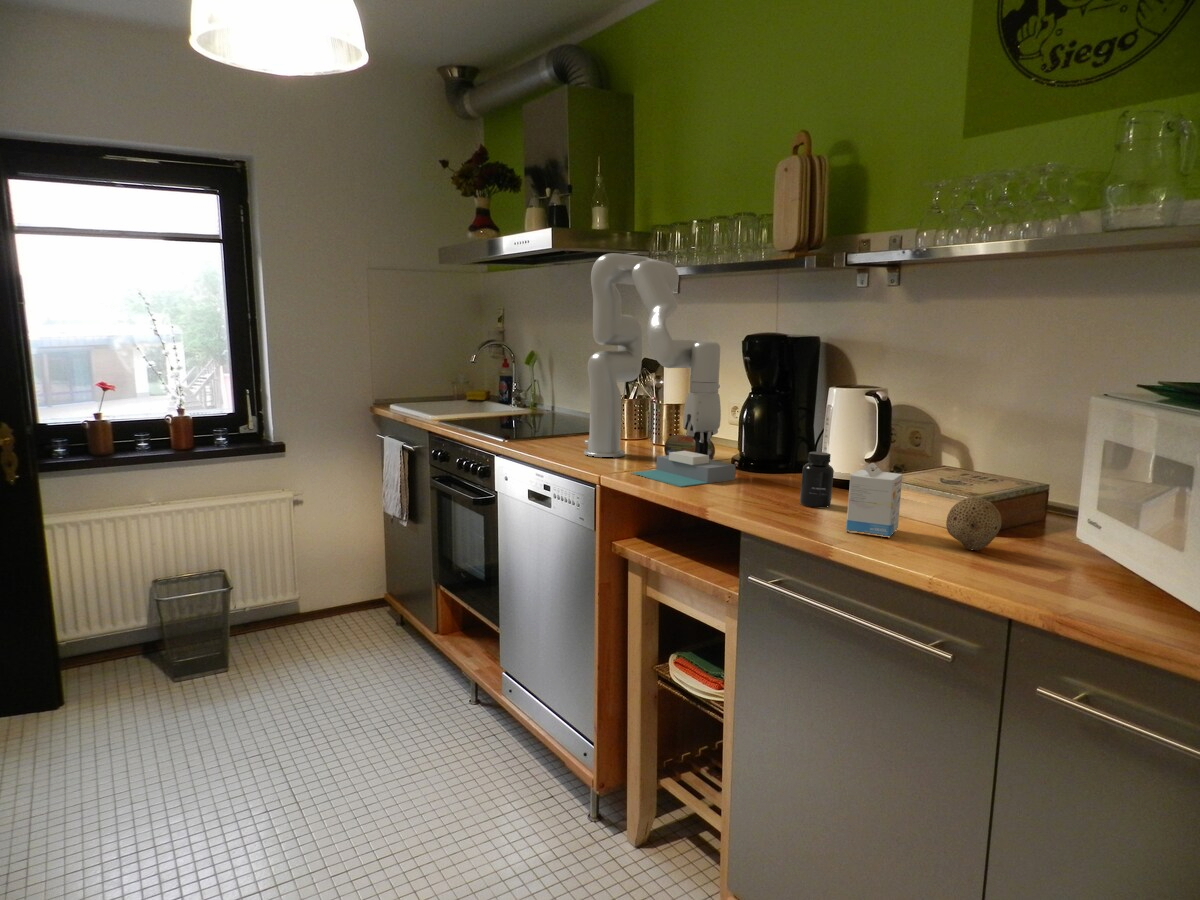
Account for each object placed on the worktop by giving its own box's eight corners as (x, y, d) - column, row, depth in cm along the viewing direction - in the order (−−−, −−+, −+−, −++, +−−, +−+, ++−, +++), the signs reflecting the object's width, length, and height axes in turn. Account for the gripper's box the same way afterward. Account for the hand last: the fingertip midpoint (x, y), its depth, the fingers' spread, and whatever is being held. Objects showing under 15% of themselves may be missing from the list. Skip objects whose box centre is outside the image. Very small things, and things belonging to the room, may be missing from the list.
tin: (663, 461, 227) (664, 433, 226) (667, 460, 230) (668, 432, 229) (711, 467, 220) (713, 438, 219) (715, 465, 223) (717, 436, 222)
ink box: (889, 539, 148) (895, 471, 146) (844, 532, 153) (850, 466, 150) (898, 530, 155) (904, 464, 153) (855, 523, 160) (861, 460, 158)
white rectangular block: (668, 459, 207) (669, 452, 207) (684, 457, 211) (685, 450, 210) (692, 465, 200) (693, 457, 200) (708, 462, 204) (709, 455, 203)
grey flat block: (656, 470, 213) (656, 456, 212) (683, 467, 219) (683, 453, 218) (707, 483, 197) (707, 468, 196) (734, 479, 203) (735, 464, 202)
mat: (630, 473, 207) (630, 472, 207) (656, 470, 213) (656, 469, 213) (680, 487, 192) (680, 486, 192) (707, 483, 197) (707, 482, 197)
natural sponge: (972, 559, 136) (978, 504, 135) (932, 546, 144) (937, 494, 143) (1008, 554, 140) (1014, 501, 138) (967, 541, 148) (973, 490, 146)
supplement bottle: (814, 509, 171) (818, 456, 170) (793, 503, 177) (797, 451, 175) (837, 506, 175) (841, 454, 173) (816, 500, 181) (819, 450, 179)
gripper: (714, 386, 213) (711, 452, 215) (673, 388, 204) (671, 456, 207) (734, 388, 207) (730, 456, 210) (693, 390, 198) (690, 461, 201)
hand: (701, 456), depth 208 cm, fingers closed
